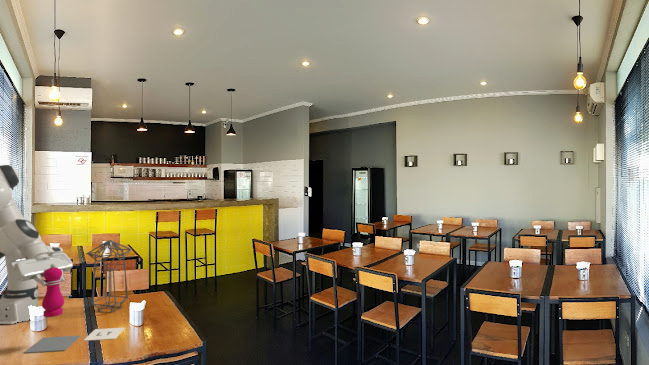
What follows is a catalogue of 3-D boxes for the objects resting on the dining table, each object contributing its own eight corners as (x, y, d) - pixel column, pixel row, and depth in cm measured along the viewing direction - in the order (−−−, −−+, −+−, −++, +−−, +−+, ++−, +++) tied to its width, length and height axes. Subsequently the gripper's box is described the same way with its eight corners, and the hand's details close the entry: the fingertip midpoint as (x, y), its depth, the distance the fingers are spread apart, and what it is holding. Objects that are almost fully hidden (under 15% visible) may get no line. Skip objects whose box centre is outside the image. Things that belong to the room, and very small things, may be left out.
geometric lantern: (133, 305, 203) (134, 238, 202) (113, 317, 188) (113, 244, 186) (106, 303, 206) (106, 237, 204) (83, 314, 190) (83, 242, 189)
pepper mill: (53, 318, 151) (52, 265, 151) (37, 317, 152) (36, 265, 152) (68, 312, 158) (68, 262, 158) (53, 311, 159) (53, 261, 159)
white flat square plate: (83, 340, 159) (83, 340, 159) (95, 329, 171) (95, 329, 171) (115, 338, 161) (115, 338, 161) (124, 328, 173) (124, 327, 173)
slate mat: (23, 353, 147) (23, 352, 147) (43, 338, 161) (43, 337, 161) (64, 350, 150) (64, 349, 150) (80, 336, 163) (80, 335, 163)
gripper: (12, 255, 148) (29, 284, 144) (65, 247, 167) (81, 272, 163) (4, 266, 149) (21, 295, 146) (58, 256, 168) (74, 281, 165)
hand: (53, 283), depth 155 cm, fingers closed on pepper mill, 5 cm apart
